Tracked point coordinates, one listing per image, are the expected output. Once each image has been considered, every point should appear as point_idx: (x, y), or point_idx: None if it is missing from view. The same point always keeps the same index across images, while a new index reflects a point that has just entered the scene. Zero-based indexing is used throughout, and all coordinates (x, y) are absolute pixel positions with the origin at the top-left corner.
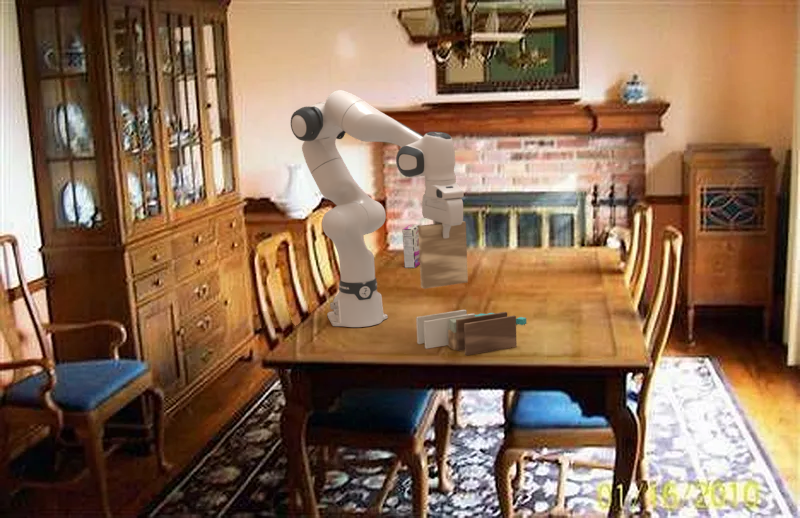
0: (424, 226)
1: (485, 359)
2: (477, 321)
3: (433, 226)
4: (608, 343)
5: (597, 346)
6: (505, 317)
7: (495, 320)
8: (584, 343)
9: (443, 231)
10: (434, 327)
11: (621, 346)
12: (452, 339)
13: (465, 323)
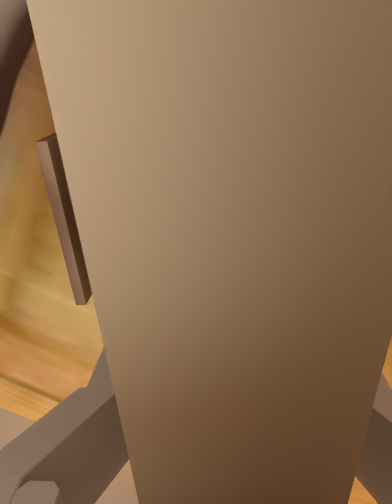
0: (69, 51)
1: (27, 154)
2: (57, 191)
3: (119, 363)
4: (61, 394)
5: (49, 374)
6: (73, 278)
7: (62, 245)
8: (75, 368)
9: (74, 399)
10: None
11: (37, 400)
12: None
13: (45, 146)
